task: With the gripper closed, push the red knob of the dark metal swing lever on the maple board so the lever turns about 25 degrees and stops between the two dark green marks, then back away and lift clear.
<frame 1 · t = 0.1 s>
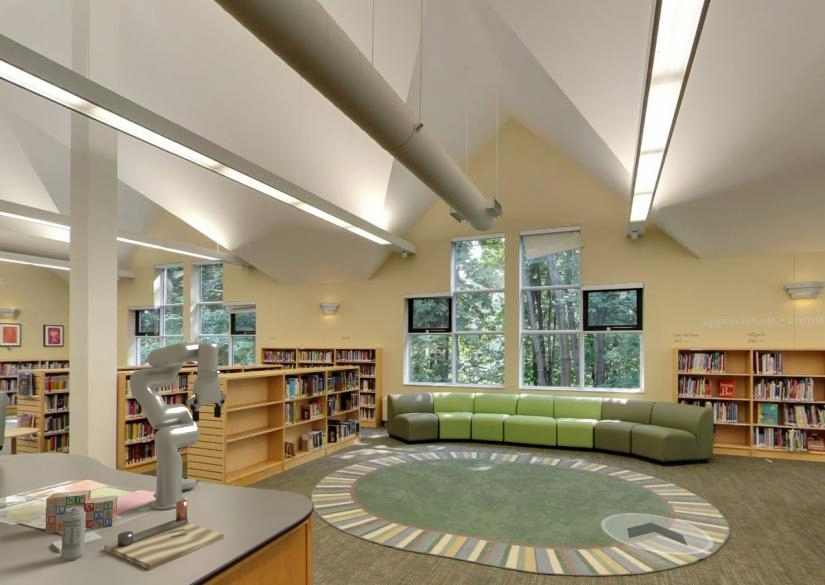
hand: (206, 419, 197), 37 cm above the table, tool pointing down, fingers open, 9 cm apart
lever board: (165, 544, 169), on the table
robot toy: (180, 489, 228), on the table
lever: (154, 521, 174), point 6 cm above the table, hinge at 0.0°
stack of blocks: (82, 527, 185), on the table
energy drink can: (72, 558, 160), on the table
external hard drive: (76, 545, 171), on the table
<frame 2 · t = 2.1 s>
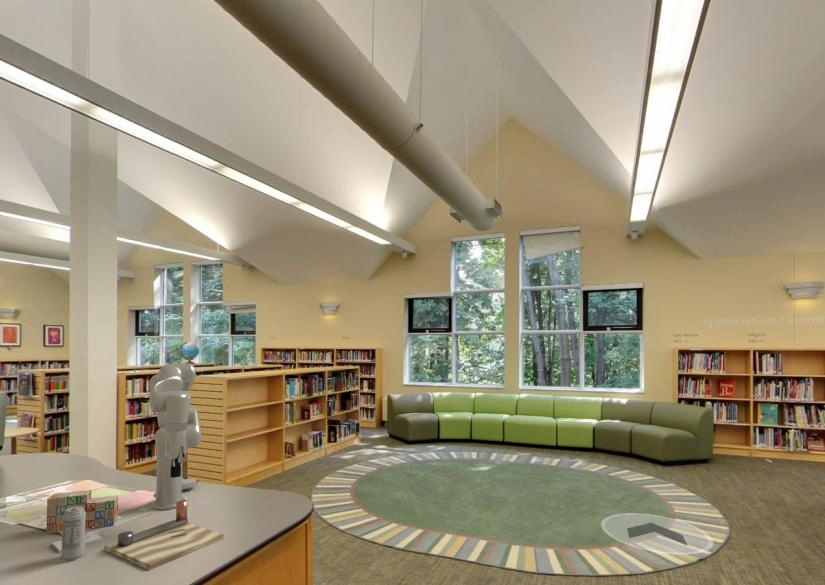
hand: (175, 476, 189), 17 cm above the table, tool pointing down, fingers closed
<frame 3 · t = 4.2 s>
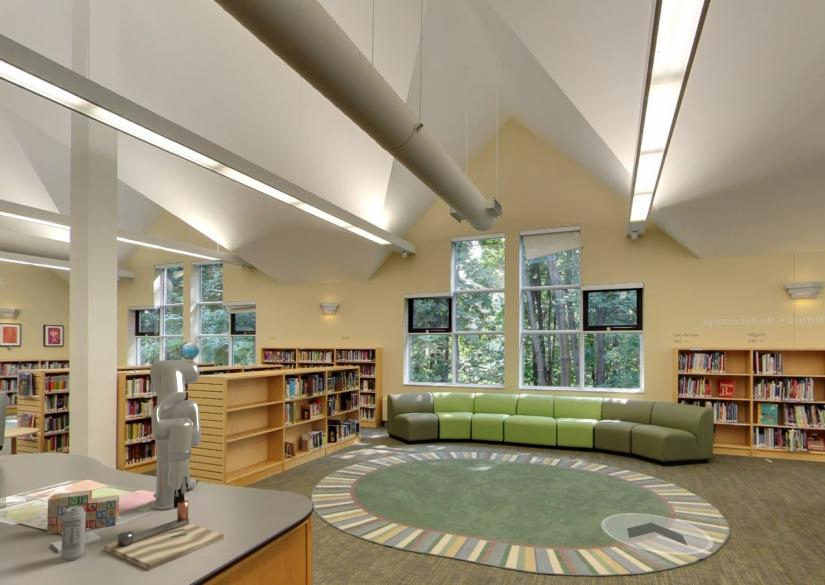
hand: (178, 506, 185), 7 cm above the table, tool pointing down, fingers closed
lever: (154, 522, 174), point 6 cm above the table, hinge at 2.1°, touching gripper
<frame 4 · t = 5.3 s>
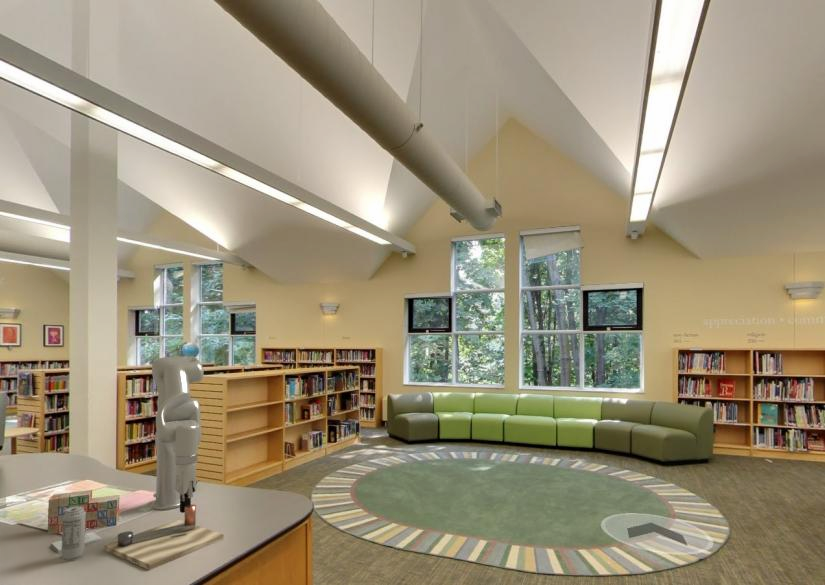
hand: (185, 511, 181), 7 cm above the table, tool pointing down, fingers closed
lever: (158, 524, 172), point 6 cm above the table, hinge at 19.7°, touching gripper
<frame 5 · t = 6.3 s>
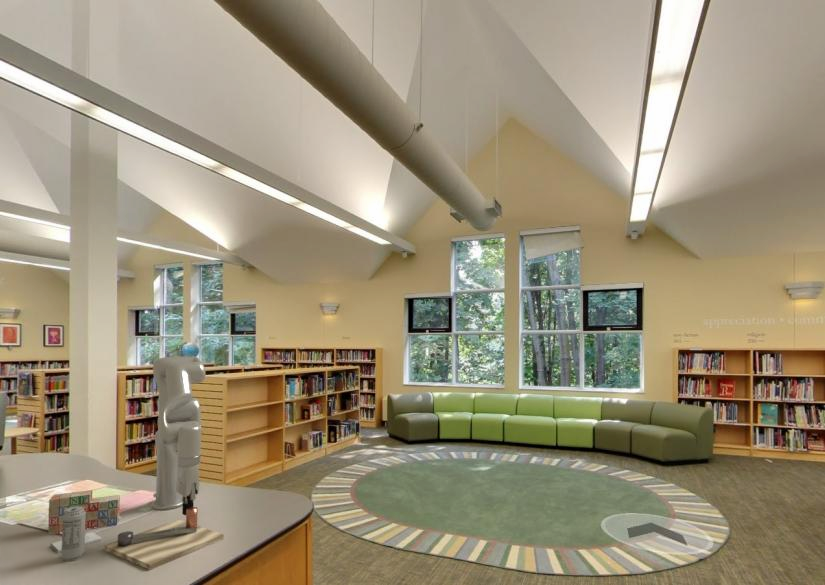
hand: (187, 513, 179), 7 cm above the table, tool pointing down, fingers closed
lever: (158, 525, 171), point 5 cm above the table, hinge at 28.2°, touching gripper
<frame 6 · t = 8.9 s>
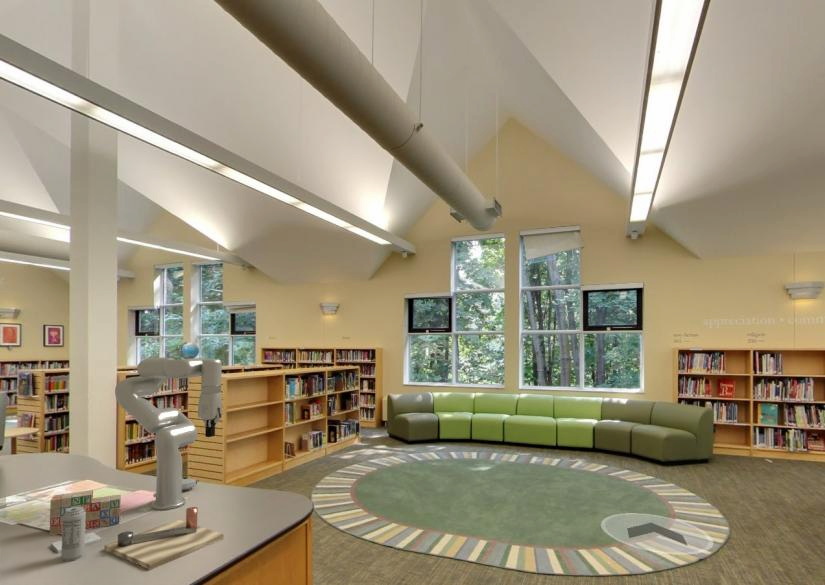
hand: (210, 436, 202), 29 cm above the table, tool pointing down, fingers closed
lever: (158, 525, 171), point 6 cm above the table, hinge at 28.3°
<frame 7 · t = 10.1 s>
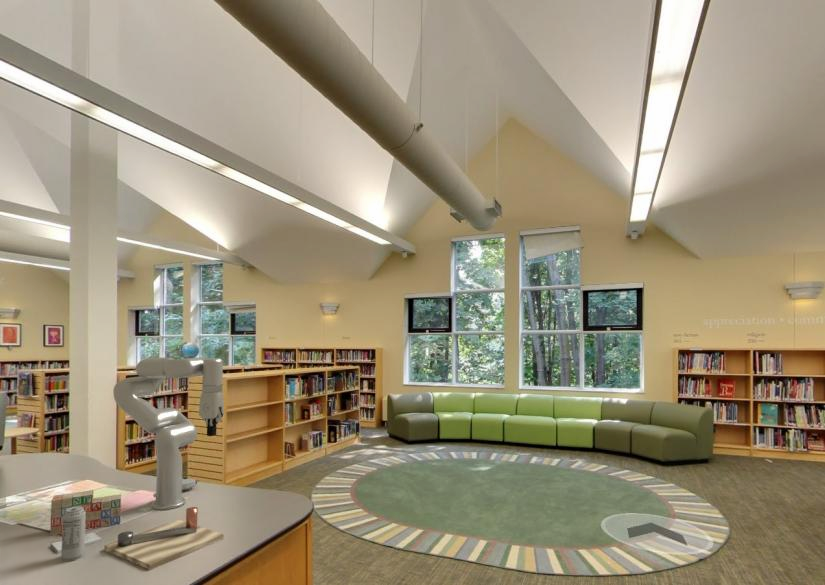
hand: (211, 435, 203), 29 cm above the table, tool pointing down, fingers closed
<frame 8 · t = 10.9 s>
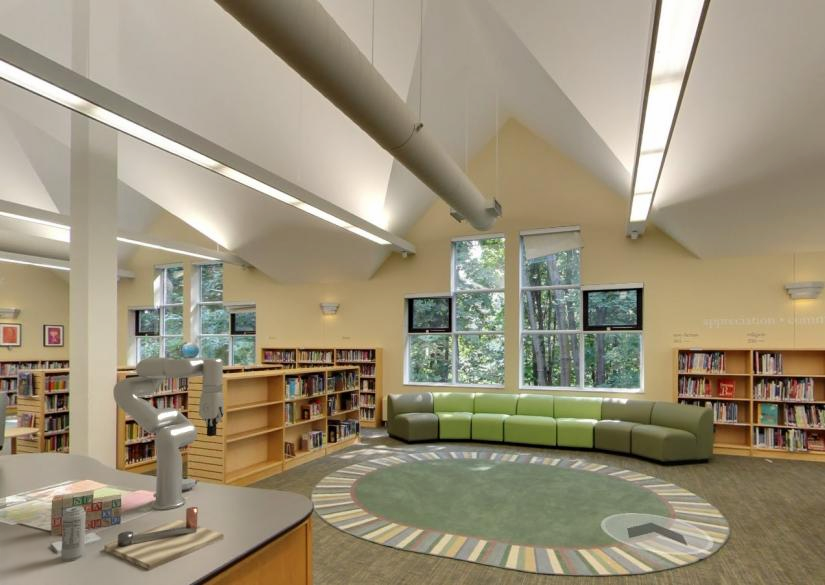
hand: (211, 435, 203), 29 cm above the table, tool pointing down, fingers closed
at the end: lever at +28° (first picture: +0°); the gripper is holding nothing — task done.
